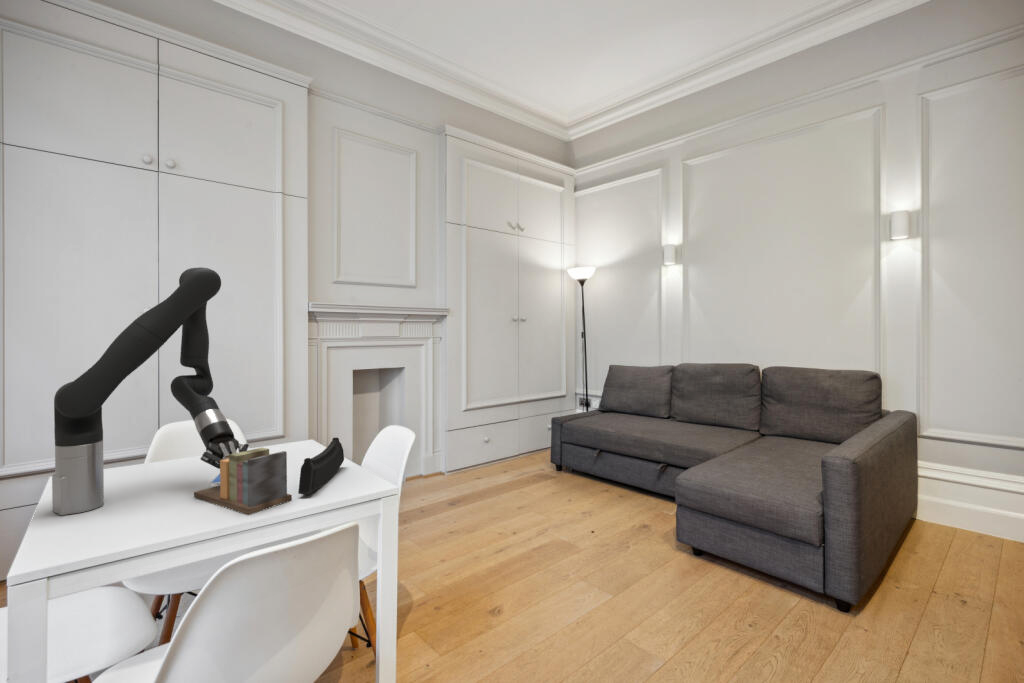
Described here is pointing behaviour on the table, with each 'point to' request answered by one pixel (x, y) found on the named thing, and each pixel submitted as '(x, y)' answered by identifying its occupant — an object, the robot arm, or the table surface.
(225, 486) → the loose bookend
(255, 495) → the book row
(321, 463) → the magazine
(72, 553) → the table surface
